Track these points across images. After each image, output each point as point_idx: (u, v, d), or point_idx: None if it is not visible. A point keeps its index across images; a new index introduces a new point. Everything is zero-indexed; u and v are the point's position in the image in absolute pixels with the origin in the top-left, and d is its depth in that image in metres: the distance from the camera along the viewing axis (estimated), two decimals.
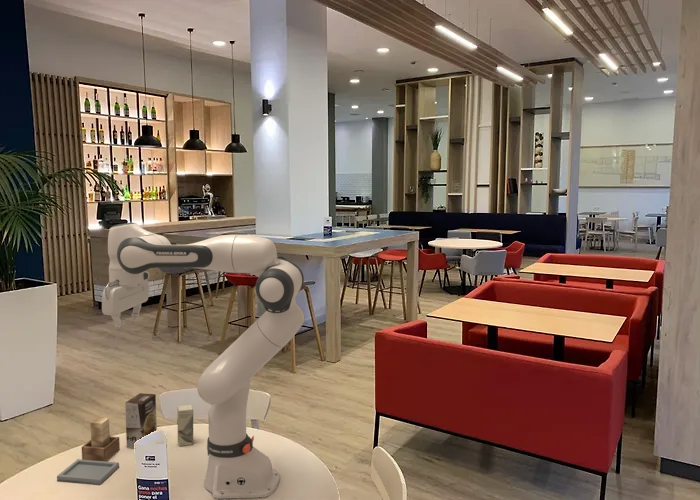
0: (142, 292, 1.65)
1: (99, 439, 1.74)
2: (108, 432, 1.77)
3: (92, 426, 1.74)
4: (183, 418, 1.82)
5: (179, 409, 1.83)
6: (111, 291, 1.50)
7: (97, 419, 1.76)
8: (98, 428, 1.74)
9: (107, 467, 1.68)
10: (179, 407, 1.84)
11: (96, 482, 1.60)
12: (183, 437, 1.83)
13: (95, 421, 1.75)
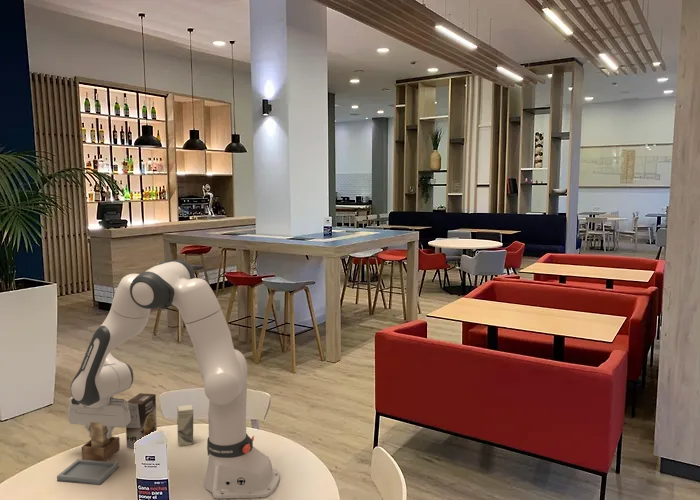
0: None
1: (100, 439, 1.74)
2: None
3: (92, 426, 1.74)
4: (183, 418, 1.82)
5: (179, 409, 1.83)
6: None
7: None
8: (98, 428, 1.74)
9: (107, 467, 1.68)
10: (179, 407, 1.84)
11: (96, 482, 1.60)
12: (183, 437, 1.83)
13: None
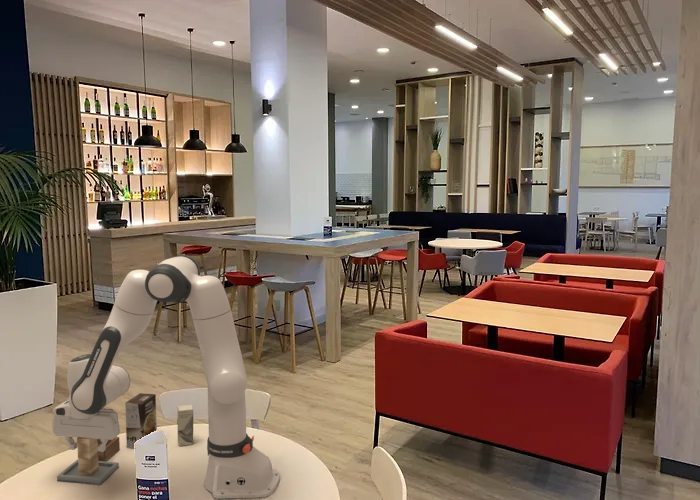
0: None
1: (87, 456, 1.62)
2: (96, 448, 1.65)
3: (79, 442, 1.62)
4: (183, 418, 1.83)
5: (179, 409, 1.83)
6: None
7: None
8: (85, 444, 1.62)
9: (107, 467, 1.68)
10: (179, 407, 1.84)
11: (96, 482, 1.60)
12: (183, 437, 1.83)
13: None
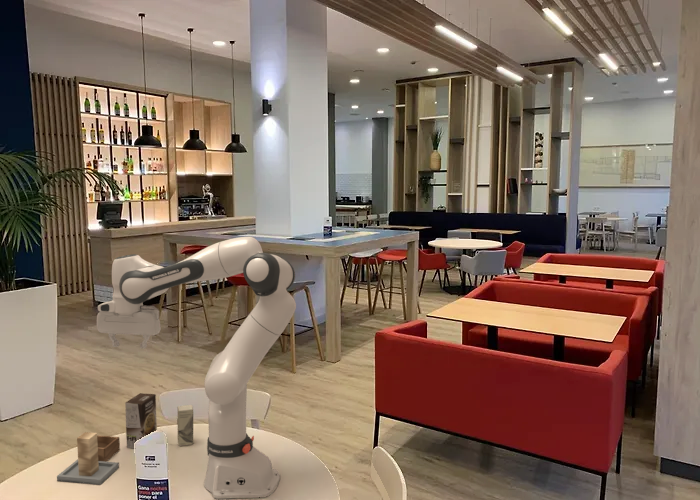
0: None
1: (87, 456, 1.62)
2: (96, 448, 1.65)
3: (79, 442, 1.62)
4: (183, 418, 1.82)
5: (179, 409, 1.83)
6: None
7: (84, 434, 1.64)
8: (85, 444, 1.62)
9: (107, 467, 1.68)
10: (179, 407, 1.84)
11: (96, 482, 1.60)
12: (183, 437, 1.83)
13: (82, 436, 1.63)
